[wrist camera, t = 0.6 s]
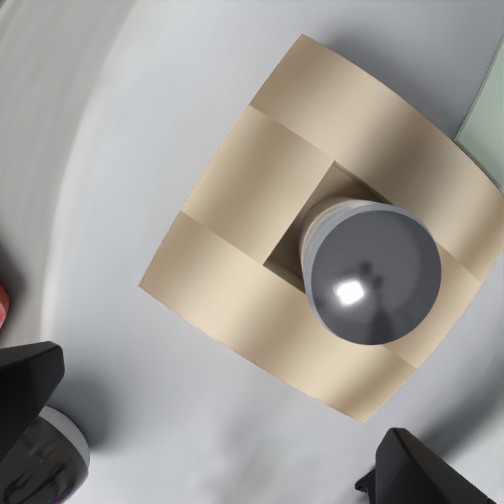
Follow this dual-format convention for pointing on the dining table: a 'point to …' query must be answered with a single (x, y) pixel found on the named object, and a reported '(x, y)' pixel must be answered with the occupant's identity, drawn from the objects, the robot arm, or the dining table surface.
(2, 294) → the plant saucer
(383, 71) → the dining table surface
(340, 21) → the dining table surface
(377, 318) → the grey metallic cylinder
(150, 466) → the dining table surface
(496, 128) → the mat
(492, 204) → the housing
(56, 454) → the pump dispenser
